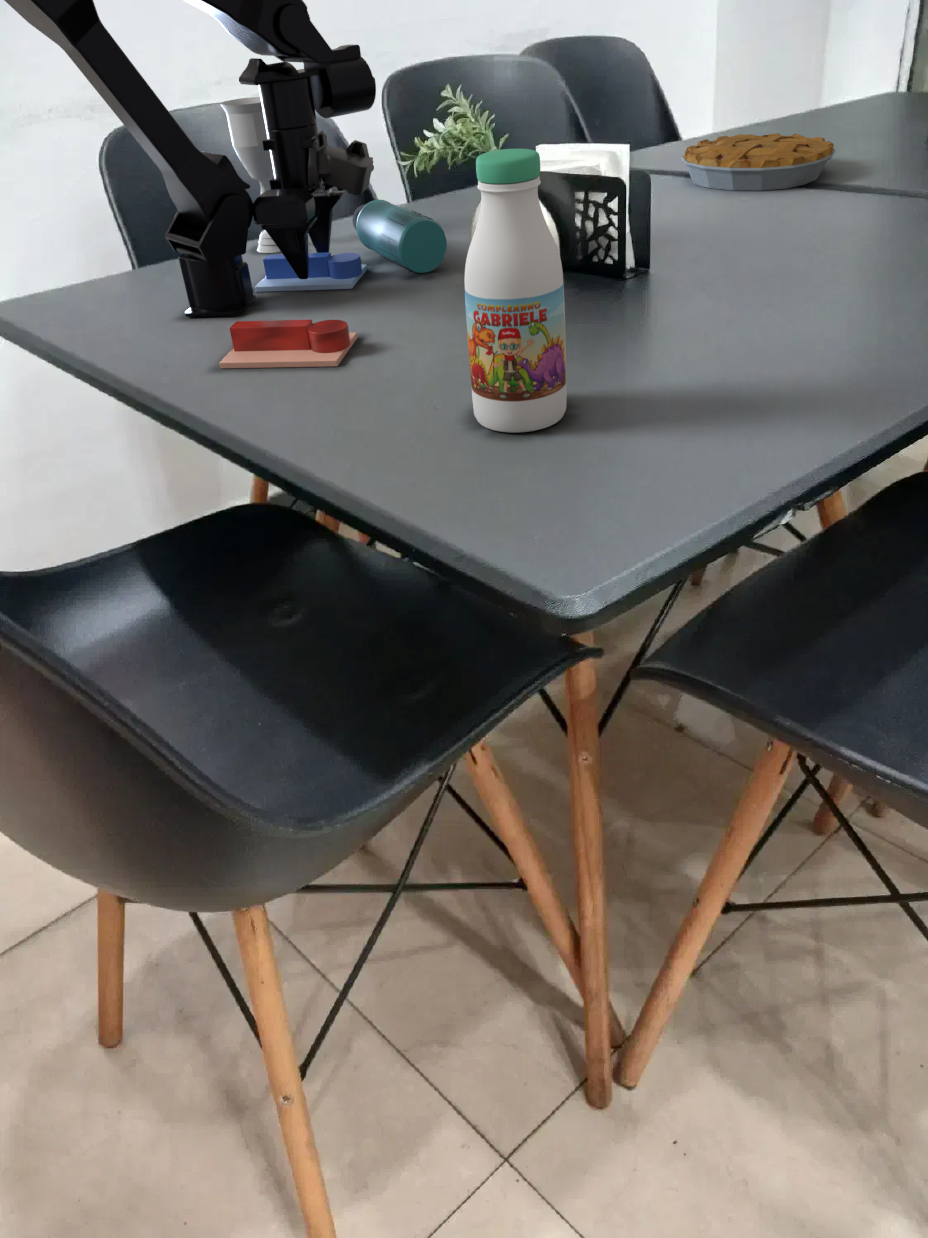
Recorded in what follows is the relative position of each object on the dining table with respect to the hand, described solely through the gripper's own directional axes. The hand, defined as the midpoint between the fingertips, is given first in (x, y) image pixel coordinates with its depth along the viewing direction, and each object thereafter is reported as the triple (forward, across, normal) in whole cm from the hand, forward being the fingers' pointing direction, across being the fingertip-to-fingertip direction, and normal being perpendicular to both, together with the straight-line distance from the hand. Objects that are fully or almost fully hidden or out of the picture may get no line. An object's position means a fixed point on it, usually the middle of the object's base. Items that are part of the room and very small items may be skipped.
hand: (314, 267), depth 118 cm
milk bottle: (+2, -41, -30) cm, 51 cm away
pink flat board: (+2, -25, -4) cm, 25 cm away
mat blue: (+2, 0, 0) cm, 2 cm away
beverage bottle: (-2, -1, -15) cm, 15 cm away
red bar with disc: (+1, -25, -4) cm, 25 cm away
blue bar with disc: (+1, 0, 0) cm, 1 cm away
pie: (+2, +46, -56) cm, 72 cm away
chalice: (+2, +16, +10) cm, 19 cm away
